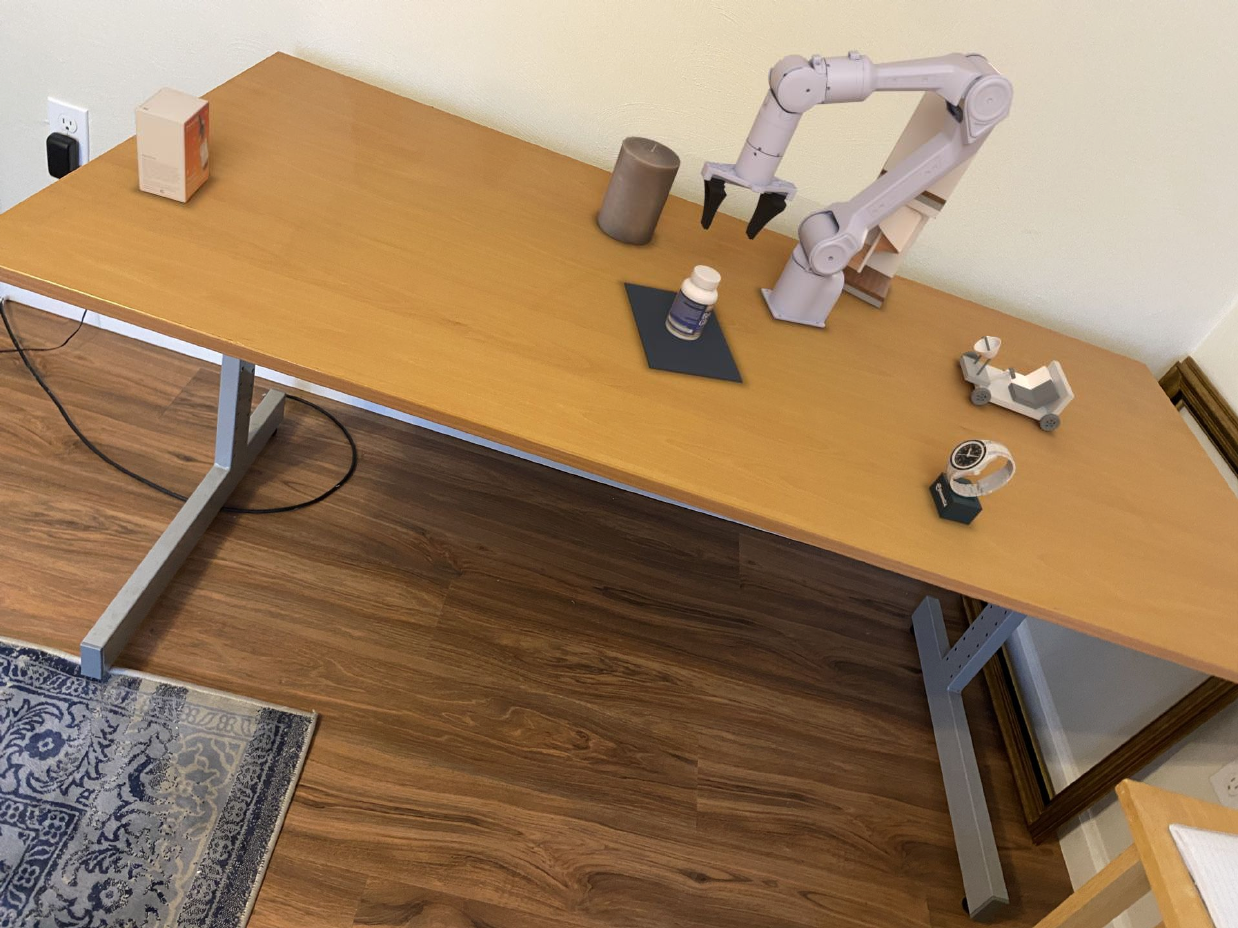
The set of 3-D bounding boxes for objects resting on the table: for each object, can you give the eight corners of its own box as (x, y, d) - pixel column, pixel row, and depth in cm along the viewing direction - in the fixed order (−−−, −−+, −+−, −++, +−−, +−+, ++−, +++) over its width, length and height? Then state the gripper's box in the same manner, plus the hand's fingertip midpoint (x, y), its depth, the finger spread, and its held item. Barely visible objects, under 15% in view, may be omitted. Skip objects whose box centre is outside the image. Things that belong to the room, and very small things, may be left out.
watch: (916, 484, 113) (963, 425, 106) (968, 498, 115) (1018, 440, 107) (927, 514, 109) (977, 455, 102) (980, 528, 110) (1033, 470, 103)
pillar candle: (661, 236, 141) (695, 153, 131) (632, 251, 134) (665, 164, 124) (616, 208, 143) (645, 124, 133) (584, 221, 136) (613, 133, 126)
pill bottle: (696, 346, 119) (723, 289, 113) (661, 332, 119) (686, 274, 113) (701, 327, 123) (728, 272, 117) (667, 314, 123) (692, 257, 117)
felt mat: (708, 300, 131) (708, 298, 130) (742, 382, 117) (742, 381, 117) (624, 283, 126) (624, 282, 126) (649, 368, 112) (650, 366, 112)
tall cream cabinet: (821, 278, 149) (930, 84, 127) (832, 257, 158) (936, 72, 135) (879, 308, 148) (999, 118, 126) (886, 285, 156) (1001, 103, 134)
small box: (185, 205, 105) (183, 124, 98) (138, 191, 104) (133, 108, 97) (210, 178, 111) (210, 100, 104) (166, 164, 110) (163, 85, 103)
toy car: (989, 348, 128) (976, 310, 136) (952, 396, 134) (942, 356, 143) (1093, 388, 129) (1074, 348, 138) (1052, 433, 136) (1036, 392, 144)
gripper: (726, 147, 113) (689, 235, 122) (818, 171, 118) (776, 254, 127) (713, 124, 118) (678, 210, 127) (802, 149, 123) (763, 230, 131)
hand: (726, 231), depth 127 cm, fingers open, 7 cm apart
